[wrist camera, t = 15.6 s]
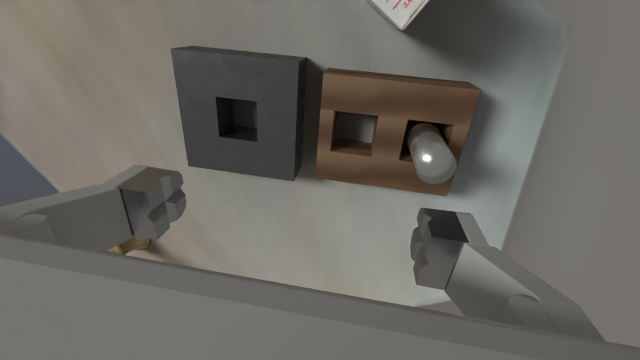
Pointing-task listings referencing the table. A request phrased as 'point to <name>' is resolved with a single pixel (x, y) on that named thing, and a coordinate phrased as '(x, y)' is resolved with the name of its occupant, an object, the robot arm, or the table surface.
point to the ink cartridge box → (398, 10)
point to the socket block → (217, 111)
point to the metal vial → (429, 152)
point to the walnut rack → (389, 126)
